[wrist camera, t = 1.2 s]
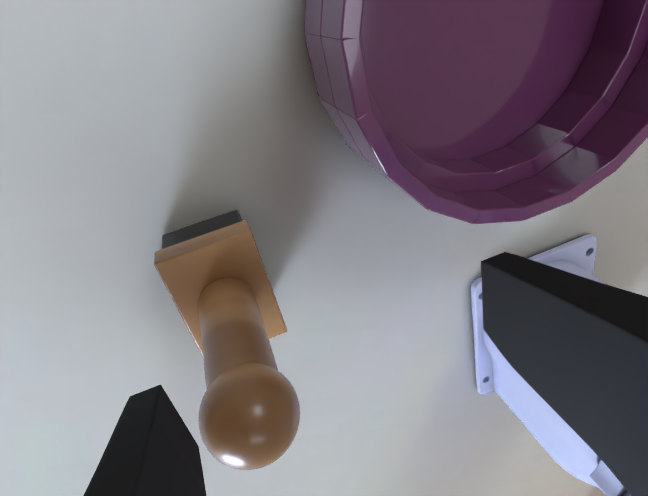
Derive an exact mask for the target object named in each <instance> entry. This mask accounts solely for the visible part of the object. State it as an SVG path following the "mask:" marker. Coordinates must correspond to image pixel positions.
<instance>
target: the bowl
mask: <svg viewBox="0 0 648 496" xmlns="http://www.w3.org/2000/svg"><path fill="white" fill-rule="evenodd" d="M304 31H305V39H306V43H307V47H308V52H309V56H310V61H311V65H312V69H313V74H314V78H315V83H316V87H317V91H318V96H319V97H320V100H321V102H322V104H323V105H324V107H325V109H326V111H327V112H328V114H329V116H330V117H331V119H332V121H333V122H334V124H335V126H336V128H337V129H338V131H339V133H340V134H341V136H342V138H343V140H344V141H345V143H346V145H348V147H349V148H351V149H352V150H353V151H354V152H355V153H357V154H358V155H359V156H360V157H361V158H363V159H364V160H365V161H366V162H367V163H369V164H370V165H371V166H372V167H373V168H375V169H376V170H377V171H378V172H379V173H381V174H382V175H383V176H384V177H386V178H387V179H388V180H389V181H391V182H392V183H393V184H395V185H396V186H397V187H398V188H400V189H401V190H402V191H404V192H405V193H406V194H408V195H409V196H410V197H411V198H413V199H414V200H415V201H417V202H418V203H419V204H420V205H422V206H423V207H424V208H426V209H428V210H430V211H433V212H436V213H439V214H443V215H446V216H449V217H452V218H456V219H459V220H462V221H465V222H468V223H472V224H482V223H497V222H512V221H522V220H526V219H529V218H531V217H534V216H536V215H539V214H541V213H544V212H547V211H549V210H552V209H554V208H557V207H560V206H562V205H565V204H567V203H570V202H572V201H573V200H575V199H576V198H578V197H579V196H581V195H582V194H583V193H585V192H586V191H588V190H589V189H591V188H592V187H593V186H595V185H596V184H598V183H599V182H601V181H602V180H603V179H605V178H606V177H608V176H609V175H610V174H612V173H613V172H615V171H616V170H617V169H618V168H619V167H620V166H621V165H622V164H623V163H624V162H625V161H626V160H627V159H628V158H629V157H630V156H631V155H632V154H633V152H634V151H635V150H636V149H637V148H638V147H639V146H640V145H641V144H642V143H643V142H644V141H645V140H646V139H647V138H648V0H306V10H305V30H304Z"/></svg>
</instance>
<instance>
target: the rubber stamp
mask: <svg viewBox="0 0 648 496" xmlns="http://www.w3.org/2000/svg"><path fill="white" fill-rule="evenodd" d="M154 265H155V267H156V269H157V271H158V273H159V274H160V276H161V278H162V280H163V282H164V284H165V286H166V288H167V290H168V291H169V293H170V295H171V297H172V299H173V301H174V303H175V305H176V307H177V308H178V310H179V312H180V314H181V316H182V318H183V320H184V322H185V323H186V325H187V327H188V329H189V331H190V333H191V335H192V337H193V339H194V340H195V342H196V344H197V346H198V348H199V350H200V352H201V354H202V356H203V359H204V369H205V379H206V388H207V391H206V392H205V394H204V396H203V399H202V402H201V405H200V410H199V430H200V434H201V437H202V440H203V442H204V444H205V446H206V448H207V449H208V451H209V452H210V453H211V454H212V456H213V457H214V458H216V459H217V460H218V461H219V462H221V463H222V464H224V465H226V466H229V467H231V468H234V469H240V470H253V469H258V468H262V467H264V466H267V465H269V464H271V463H272V462H274V461H276V460H277V459H278V458H279V457H280V456H282V455H283V454H284V453H285V452H286V450H287V449H288V448H289V446H290V445H291V443H292V442H293V440H294V437H295V435H296V433H297V429H298V425H299V419H300V408H299V401H298V398H297V394H296V392H295V390H294V388H293V386H292V385H291V383H290V382H289V380H288V379H287V378H286V377H285V376H284V375H283V374H282V373H280V372H279V371H278V368H277V365H276V362H275V359H274V355H273V352H272V349H271V346H270V342H269V339H270V338H272V337H275V336H277V335H280V334H283V333H285V332H287V328H286V325H285V323H284V320H283V317H282V314H281V312H280V309H279V306H278V304H277V301H276V298H275V295H274V293H273V290H272V287H271V285H270V282H269V279H268V276H267V274H266V271H265V268H264V266H263V263H262V260H261V257H260V255H259V252H258V249H257V246H256V244H255V241H254V238H253V236H252V233H251V230H250V228H249V225H248V222H247V221H246V220H244V221H242V220H241V217H240V215H239V212H238V210H235V211H232V212H229V213H226V214H223V215H220V216H217V217H214V218H212V219H209V220H206V221H203V222H200V223H197V224H194V225H191V226H188V227H185V228H183V229H180V230H177V231H174V232H171V233H168V234H165V235H163V236H162V249H161V250H158V251H156V252H155V261H154Z"/></svg>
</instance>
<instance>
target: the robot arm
mask: <svg viewBox="0 0 648 496" xmlns="http://www.w3.org/2000/svg"><path fill="white" fill-rule="evenodd" d="M596 246H597V238H596V237H595V236H593V235H590V234H587V235H584V236H582V237H579V238H577V239H574V240H572V241H569V242H567V243H564V244H562V245H559V246H557V247H555V248H552V249H550V250H547V251H545V252H542V253H540V254H537V255H535V256H532V257H530V258H524V257H521V256H517V255H514V254H510V253H507V252H504V253H501V254H499V255H496V256H494V257H491V258H488V259H486V260H483V261H481V272H482V277H480V278H478V279H476V280H475V281H474V282H473V283H472V285H471V299H472V315H473V332H474V349H475V365H476V382H477V390H478V392H479V393H480V394H481V395H487V394H489V393H491V392H493V391H495V392H496V393H497V394H498V395H499V396H500V397H501V399H502V400H503V401H504V402H505V403H506V404H507V406H508V407H509V408H510V409H511V410H512V411H513V413H514V414H515V415H516V416H517V417H518V418H519V420H520V421H521V422H522V423H523V424H524V425H525V427H526V428H527V429H528V430H529V431H530V432H531V434H532V435H533V436H534V437H535V438H536V439H537V441H538V442H539V443H540V444H541V445H542V447H543V448H544V449H545V450H546V451H547V452H548V454H549V455H550V456H551V457H552V458H553V459H554V461H555V462H557V463H558V464H559V465H560V466H561V467H562V468H563V469H564V470H565V471H567V472H568V473H570V474H571V475H573V476H574V477H576V478H578V479H580V480H582V481H584V482H586V483H588V484H590V485H593V486H596V487H599V488H600V489H601V490H602V492H603V493H604V494H605V495H606V496H648V297H646V296H642V295H639V294H636V293H632V292H629V291H626V290H622V289H619V288H616V287H613V286H609V285H608V284H606V283H604V282H603V281H601V280H600V279H598V278H596V277H595V276H593V270H594V262H595V254H596ZM480 293H481V294H480ZM84 496H206V491H205V484H204V478H203V471H202V465H201V459H200V453H199V447H198V445H197V443H196V442H195V440H194V438H193V437H192V435H191V433H190V432H189V430H188V428H187V427H186V425H185V424H184V422H183V420H182V419H181V417H180V415H179V414H178V412H177V410H176V409H175V407H174V406H173V404H172V402H171V401H170V399H169V397H168V396H167V394H166V392H165V391H164V389H163V388H162V386H161V385H158V386H156V387H153V388H151V389H148V390H145V391H143V392H140V393H138V394H135V395H132V396H130V398H129V399H128V401H127V403H126V405H125V408H124V410H123V412H122V414H121V416H120V418H119V421H118V423H117V425H116V427H115V429H114V432H113V434H112V436H111V438H110V441H109V443H108V445H107V447H106V449H105V452H104V454H103V456H102V458H101V460H100V462H99V465H98V467H97V469H96V471H95V473H94V475H93V477H92V479H91V481H90V483H89V486H88V488H87V490H86V492H85V494H84Z"/></svg>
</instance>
